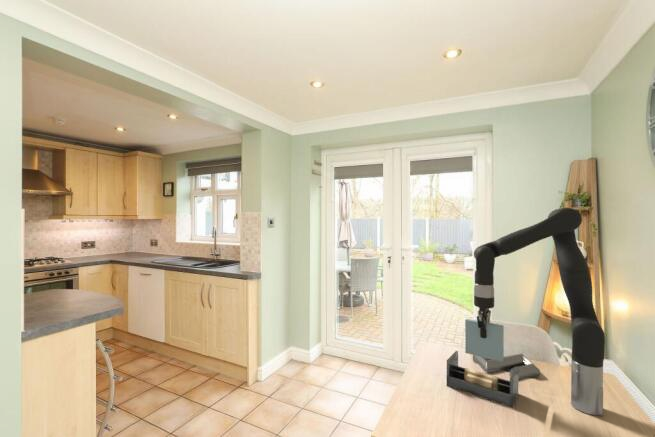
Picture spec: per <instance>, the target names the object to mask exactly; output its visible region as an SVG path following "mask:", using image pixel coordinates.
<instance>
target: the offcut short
mask: <svg viewBox="0 0 655 437" xmlns="http://www.w3.org/2000/svg"><path fill="white" fill-rule="evenodd" d="M467 382H470V383H474V384H477V385H480V386H483V387H487V388H490V389H492V386H493V381H491V380H488V379H484V378H481V377H477V376H474V375H471V374H468V375H467Z"/></svg>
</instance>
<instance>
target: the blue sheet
mask: <svg viewBox="0 0 655 437" xmlns="http://www.w3.org/2000/svg"><path fill="white" fill-rule="evenodd" d="M464 322H465V323H464V324H465V325H464V326H465V327H464V328H465V330H464V332H465V341H464V342H465V345H464V346H465V351H464V352H465V354H469V355H471V356H473V355H476V356H480V357H484V358H488V359H492V360H496V361H500V362H503V361H504V357H505V356H504V355H505V354H504V352H505V351H504V349H505V348H504V332H505V331H504V329H505V328H504V327H505V326H504V325H503V324H499V323H498V324H497V323H492V322H490V323H487V329H486V338H481V337H480V328H478V322H477V319H471V318H466V319H465V320H464ZM482 326H483V325H482Z"/></svg>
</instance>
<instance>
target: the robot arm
mask: <svg viewBox="0 0 655 437" xmlns="http://www.w3.org/2000/svg"><path fill="white" fill-rule="evenodd" d="M582 223H583V217H582V215H581V213H580V212H579V211H578V210H577V209H576V208H571V207H561V208H555V209H554V210H552V211H550V213H549V214H548V216H547V218H546V219H544V220H541V221H540V222H538V223H536V224H535V223H534V224H533V225H530V226H528V227H525V228H522V229H519V230H516V231H513V232H510V233H509V234H507V235H504V236H502V237H499V238H498V239H496V240H493V241H490V242H487V243H485V244H481V245H480V246H477V247H476V248H475V249H474V251H473V258H474V259H475V271H474V287H473V305H474V306H475V307H476V308H478V310H477V316H476V320H477V322H478V328H480V337H481V338H486V329H487V323H491V313H492V310H491V309H494V308H495V285H494V283H495V282H494V279H495V278H494V271H495V263H496V262H495V261H496V259H497V258H498V257H500V256H507V255H510V254H513V253H515V252H517V251H519V250H521V249H523V248H527V247H528V246H530V245H533V244H535V243H537V242H540V241H542V240H544V239H547V238H550V237H552V240H553V244H554V247H555V253H556V254H555V255H556V260H557V265H558V270H559V276H560V280H561V284H562V285H561V286H562V288H563V292H564V293H565V296H566V298H567V301H568V305H569V311H570V321H571V322H570V324H571V326H570V327H571V334H572V336H571V342H572V343H571V344H572V345H571V360H570V361H571V367H570V368H571V370H570V371H571V372H570V373H571V374H570V375H571V377H570V380H571V381H570V383H571V385H570V389H571V390H570V405H571V407H573V408H575V409H576V410H577V411H579V412H581V413H584V414H587V415H590V416H591V415H592V416H600V417H604V360H605V347H606V345H605V344H606V343H605V342H606V337H605V332H604V330H603V328H602V326H601V323H600V322H599V319H598V317H597V316H598V315H597V314H596V311H595V306H594V303H593V302H594V301H593V282H592V277H591V276H592V275H591V272H590V271H591V270H590V268H589V265H588V262H587V260H586V258H585V255H584V253H582V251H581V249H580V247H579V245H578V242H577V238H576V233H575V230H577V229H578V228H580V226H581V224H582ZM482 325H483V326H482Z"/></svg>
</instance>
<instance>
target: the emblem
mask: <svg viewBox="0 0 655 437" xmlns="http://www.w3.org/2000/svg"><path fill="white" fill-rule="evenodd" d="M472 361H473V362H474V364H477V365H479V367H480V368H481V369H482V370H483V371H484V373H485V374H489V375H490V374H493V373H497V372H501V371H502V372H507V373H509V378H510V377H511V375H512V373H513V371H514V369H515V367H518V381H519V380H523V379H525V378H529V379H535V378H538V377H540V376H541V370H540V368H538V366H536V365H535V364H534V363H533V362H532V361H531V360H530V359H529V358H528V357H527V356H525V355H524V354H523V353H517V354H512V355H505V356H504V361H503V362H500V361H496V360H492V359H488V358H484V357H480V356H476V355H472Z"/></svg>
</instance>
